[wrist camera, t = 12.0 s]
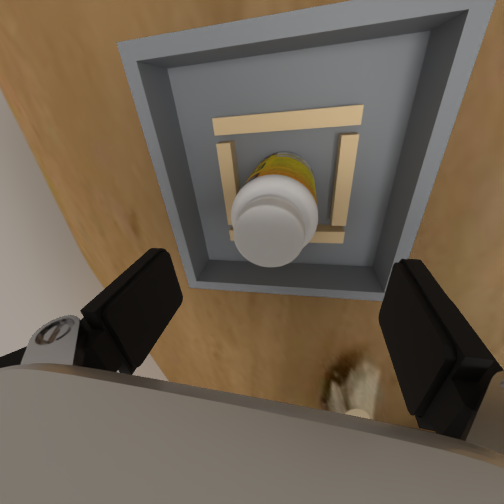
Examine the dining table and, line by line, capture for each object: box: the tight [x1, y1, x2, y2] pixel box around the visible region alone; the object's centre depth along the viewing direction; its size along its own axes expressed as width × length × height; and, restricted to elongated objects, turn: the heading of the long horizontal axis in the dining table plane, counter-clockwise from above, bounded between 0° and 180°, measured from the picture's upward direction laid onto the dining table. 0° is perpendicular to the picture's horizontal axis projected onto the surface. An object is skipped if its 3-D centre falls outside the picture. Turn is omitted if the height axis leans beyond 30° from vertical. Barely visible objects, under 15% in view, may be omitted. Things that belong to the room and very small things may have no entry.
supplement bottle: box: [231, 152, 318, 267], centre depth 17 cm, size 6×6×10 cm
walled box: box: [116, 0, 496, 301], centre depth 20 cm, size 20×20×5 cm
